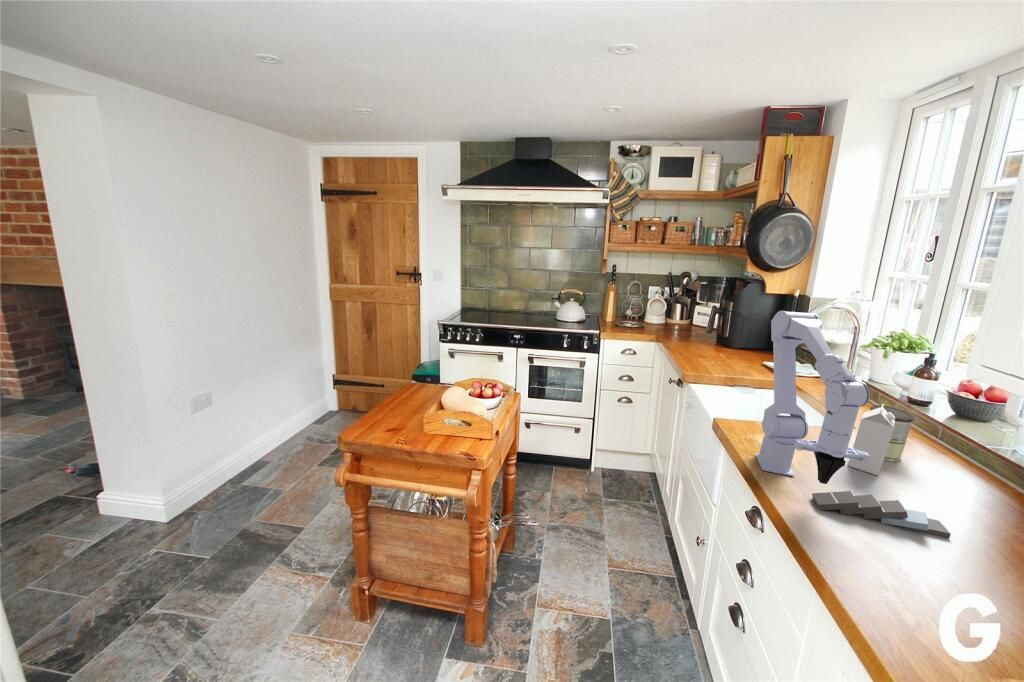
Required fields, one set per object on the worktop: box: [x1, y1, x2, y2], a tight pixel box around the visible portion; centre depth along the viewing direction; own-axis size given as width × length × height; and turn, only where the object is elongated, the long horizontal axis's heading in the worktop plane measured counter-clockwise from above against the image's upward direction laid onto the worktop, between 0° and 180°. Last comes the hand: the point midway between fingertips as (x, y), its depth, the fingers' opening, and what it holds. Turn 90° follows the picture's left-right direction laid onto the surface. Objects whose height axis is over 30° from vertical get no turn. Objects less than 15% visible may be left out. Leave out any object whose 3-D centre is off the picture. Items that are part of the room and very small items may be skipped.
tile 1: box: [811, 490, 859, 511], centre depth 106 cm, size 2×5×8 cm
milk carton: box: [847, 403, 895, 476], centre depth 126 cm, size 7×7×19 cm
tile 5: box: [904, 517, 951, 540], centre depth 102 cm, size 2×5×8 cm
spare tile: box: [880, 509, 929, 531], centre depth 102 cm, size 2×5×8 cm
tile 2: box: [837, 494, 882, 516], centre depth 105 cm, size 2×5×8 cm
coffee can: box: [870, 404, 915, 462], centre depth 136 cm, size 10×10×14 cm
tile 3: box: [861, 499, 908, 520], centre depth 104 cm, size 2×5×8 cm
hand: (822, 481), depth 107 cm, fingers closed
